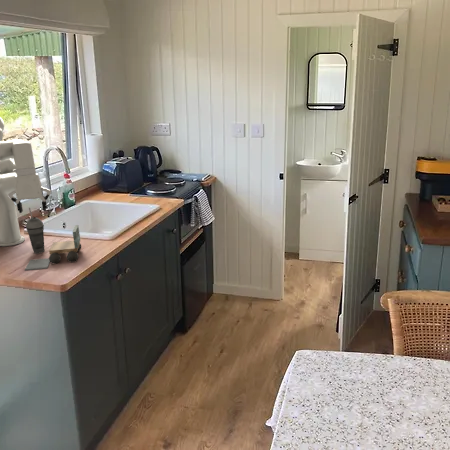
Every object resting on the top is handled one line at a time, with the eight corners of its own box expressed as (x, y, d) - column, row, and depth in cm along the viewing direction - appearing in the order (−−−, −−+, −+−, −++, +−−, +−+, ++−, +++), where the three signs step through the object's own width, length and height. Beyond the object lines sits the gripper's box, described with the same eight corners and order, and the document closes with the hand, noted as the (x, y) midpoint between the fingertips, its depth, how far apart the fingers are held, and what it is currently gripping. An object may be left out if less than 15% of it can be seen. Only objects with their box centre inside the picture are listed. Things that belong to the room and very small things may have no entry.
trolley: (49, 264, 203) (45, 235, 200) (55, 252, 216) (50, 225, 212) (78, 261, 205) (74, 233, 201) (82, 250, 217) (78, 223, 213)
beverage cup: (42, 255, 214) (34, 210, 208) (26, 254, 215) (19, 210, 209) (51, 249, 221) (44, 205, 214) (36, 248, 222) (29, 205, 216)
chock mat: (25, 270, 198) (24, 269, 198) (30, 261, 208) (30, 259, 207) (47, 268, 199) (47, 267, 199) (51, 259, 209) (51, 257, 209)
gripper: (1, 175, 202) (9, 215, 207) (45, 171, 204) (52, 211, 209) (6, 171, 209) (14, 210, 214) (49, 168, 211) (55, 207, 217)
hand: (33, 211), depth 212 cm, fingers open, 9 cm apart
